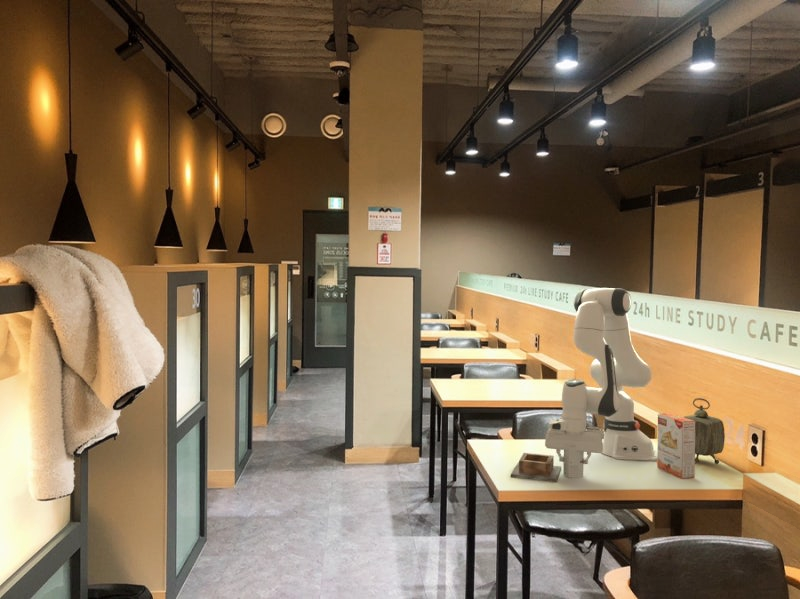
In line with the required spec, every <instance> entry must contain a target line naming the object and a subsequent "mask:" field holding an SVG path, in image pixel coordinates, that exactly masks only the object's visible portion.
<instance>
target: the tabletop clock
mask: <svg viewBox="0 0 800 599" xmlns="http://www.w3.org/2000/svg"><path fill="white" fill-rule="evenodd" d="M699 400H700V401H704V402H705V403H707V405H708V406H707V407H703V405H701V404H700V406H698V405H696V404H695V402H696V401H699ZM692 404H693V406H694V407H695V408H697V409H696V410H695V411H694V412H693V414H691V415H690V414H689V415H685V416H683V417H684V418H687V419H690V420H693V421H695V455H696V456H695V464H696V463H699V462H700V459H699V456H705V457H708V456H710V457H712V459H713V460H714V463H715V464H716V465H718V464H719V463H720V460H719V459H716V456H715V455H717V454H721V453H723V450H724V447H725V441H726V440H725V439H726V437H725V436H726V435H725V434H726V433H725V426H724V422H723V420H722V419H720V418H719V417H718V418H717V417H715V416H714V417H713V416H711V415H709V414H708V412H707V411H706V410H708V409H709V408H710V407H711V404H710V401H708V400H707V399H705V398H703V397H702V398H701V397H697V398H694V400H692Z"/></svg>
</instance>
